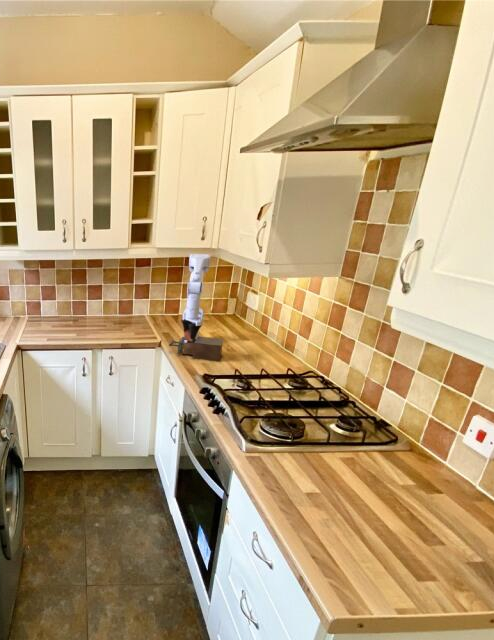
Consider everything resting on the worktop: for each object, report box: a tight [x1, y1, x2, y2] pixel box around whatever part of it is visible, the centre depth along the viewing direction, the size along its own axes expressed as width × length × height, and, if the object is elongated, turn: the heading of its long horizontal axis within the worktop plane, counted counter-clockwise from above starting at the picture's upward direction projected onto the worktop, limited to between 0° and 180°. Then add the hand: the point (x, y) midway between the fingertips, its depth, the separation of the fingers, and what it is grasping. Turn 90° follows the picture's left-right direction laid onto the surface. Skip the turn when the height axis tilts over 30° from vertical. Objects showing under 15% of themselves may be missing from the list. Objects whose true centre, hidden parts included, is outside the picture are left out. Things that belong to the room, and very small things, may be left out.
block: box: [183, 330, 194, 341], centre depth 193 cm, size 4×4×4 cm
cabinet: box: [192, 336, 224, 362], centre depth 192 cm, size 12×11×8 cm
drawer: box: [168, 336, 196, 356], centre depth 195 cm, size 15×9×6 cm, turn 66°
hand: (189, 336), depth 193 cm, fingers closed on block, 5 cm apart
